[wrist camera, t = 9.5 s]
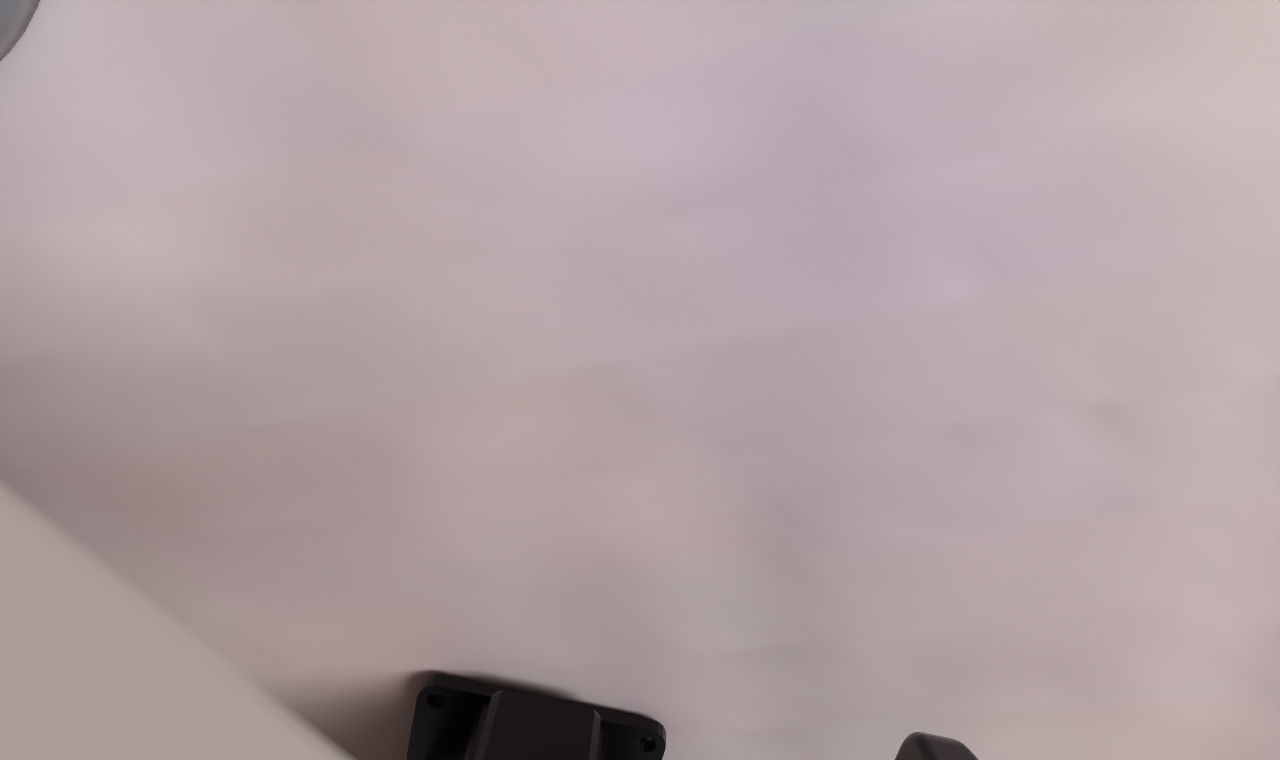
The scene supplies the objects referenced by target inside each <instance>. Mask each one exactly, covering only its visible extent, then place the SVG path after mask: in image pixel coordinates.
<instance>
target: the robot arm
mask: <svg viewBox="0 0 1280 760" xmlns="http://www.w3.org/2000/svg"><path fill="white" fill-rule="evenodd" d="M433 693H439V694H441V695H443V696H444V698H439V697H437V696H434V695H433ZM643 737H649V738H651V739H653V740H651V741H644V740H642V739H641V738H643ZM665 746H666V731H665V729H664V726H663V725H661V724H660V723H659V722H658V721H655V720H652V719H649V718H644V717H639V716H634V715H630V714H625V713H620V712H616V711H611V710H606V709H601V708H597V707H592V706H587V705H582V704H578V703H573V702H568V701H564V700H559V699H554V698H549V697H545V696H540V695H535V694H530V693H526V692H521V691H516V690H512V689H507V688H502V687H497V686H493V685H488V684H483V683H478V682H474V681H469V680H464V679H460V678H455V677H450V676H445V675H433V676H429V677H428V678H426V679H425V680H424V681H423V684H422V686H421V688H420V691H419V694H418V696H417V702H416V708H415V713H414V719H413V725H412V731H411V736H410V742H409V748H408V754H407V759H406V760H662V758H663V755H664V751H665ZM895 760H978V759H977V757H976V756H975V755H974V754H973V753H972V752H971V751H970V750H969V749H968V748H967V747H966V746H965V745H964V744H963V743H961V742H959V741H957V740H954V739H951V738H946V737H941V736H936V735H932V734H927V733H922V732H915V733H912V734H910V735H909V736H908V737H907V738H906V739H905V740H904V742H903V743H902V745H901V747H900V749H899V752H898V754H897V756H896V758H895Z"/></svg>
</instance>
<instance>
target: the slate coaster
mask: <svg viewBox="0 0 1280 760" xmlns="http://www.w3.org/2000/svg"><path fill="white" fill-rule="evenodd" d="M39 1H40V0H0V61H1V60H2V59H3V58H4V57H5V56H6V55H7V54H8V53H9V52H10V51H11V49H12V48H13V47H14V45H15V44H16V43H17V41H18V40H19V38H20V37H21V36H22V34H23V33H24V32H25V30H26V28H27V26H28V24H29V22H30V20H31V18H32V16H33V14H34V12H35V10H36V8H37V6H38V4H39Z"/></svg>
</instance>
